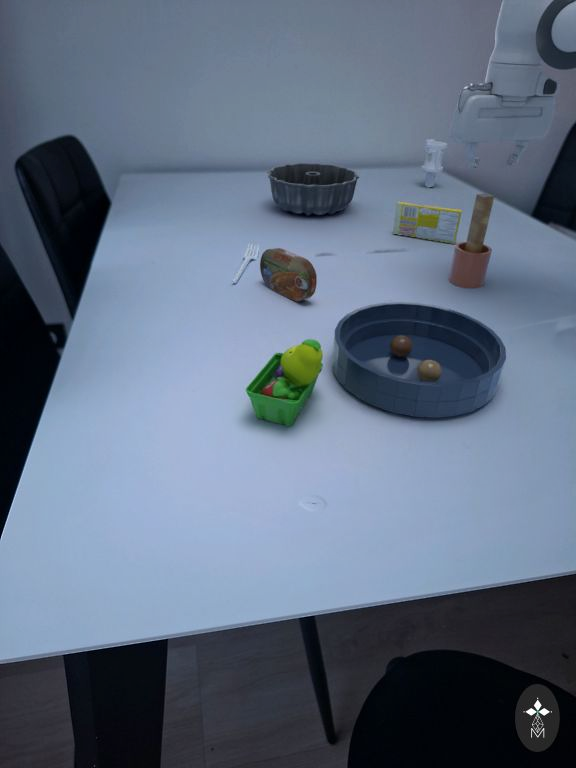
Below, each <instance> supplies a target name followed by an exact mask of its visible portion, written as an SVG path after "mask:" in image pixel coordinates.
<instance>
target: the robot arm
mask: <svg viewBox="0 0 576 768" xmlns="http://www.w3.org/2000/svg"><path fill="white" fill-rule="evenodd" d="M494 34H495V35H494V37H495V41H494V47H493V51H492V52H491V55H490V57H489V61H488V66H487V70H486V74H485V79H484V82H481V83H476V82H471V83H468V84H467V85H466V86H464V87H463V89H462V90H461V91H460V92H459V95H458V100H457V104H456V107H455V109H454V113H453V116H452V120H451V123H450V128H449V131H448V134H449V137H450V139H451V141H454V142H456V143H460V144H464V146H463V148H464V152H465V155H466V162H465V167H466V168H468V169H477V168H479V163H480V160H481V158H480V157H477V155H476V150H477V149H478V148H479V144H480V143H488V142H489V143H491V142H511V141H514V145H515V147H514V148H513V150H512V151H511V153H508V154H507V156H506V160H505V164H506V165H507V166H518V164H519V162H520V159H521V156H522V155H523V153H524V152H525V151H526V149H527V148H528V146H529V143H530V140H543V139H544V138H545V137H547V135H548V133H549V132H550V129H551V126H552V123H553V119H554V116H555V111H556V105H557V101H556V98H555V96H557V95H558V94H559V93H560V90H561V87H562V83H561V82H560V81H559V80H557V79H555V78H554V77H551V76H550V75H548V74H547V73H545V72H542V70H543V66H544V64H546V65H547V66H549V67H551V68H553V69H556V70H561V71H562V70H563V71H566V70H573V69H576V0H502V2H501V6H500V9H499V13H498V17H497V21H496V27H495V31H494Z"/></svg>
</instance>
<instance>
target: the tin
mask: <svg viewBox="0 0 576 768" xmlns="http://www.w3.org/2000/svg"><path fill="white" fill-rule="evenodd" d="M259 270H260V274H261V278H262V281H263V282H264V284H265V286H266V287H268V289H270V290H271V291H274V292H275V293H278V294H280V295H282V296H283V297H285V298H287V299H289V300H291V301H292V302H293V301H294V302H297V303H298V302H302V301H304V300H308V299H310V298H311V297H312V296H313V295H314V294H315V293H316V290H317V283H318V282H317V278H318V277H317V272H316V269H315V267H314V265H313V264H312V263H311V262H310V260H308V259H307V258H306V257H303V256H300V255H299V254H295V253H293V252H291V251H288V250H286V249H283V248H281V247H276V248H268V249H266V250H264V252H262V254H261V257H260V261H259Z"/></svg>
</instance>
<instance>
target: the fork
mask: <svg viewBox="0 0 576 768" xmlns="http://www.w3.org/2000/svg"><path fill="white" fill-rule="evenodd" d="M253 245H254V246H253ZM259 250H260V244H256V243H255V244H253V243H251V244H250V243H248V246H247V248H246V250H245V253H244V255H243V257H242V259H243V261H242V263H241V266H240V267H239V268H238V270H237V272H236V274H235V276H234V277H233V278H232V284H236V283H237V282H238V280H239V279H240V277H241V275H242V274H243V272H244V271H245V269H246V267H247V265H249V263H250V261H251V260H258V257H259V252H260V251H259Z"/></svg>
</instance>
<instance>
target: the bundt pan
mask: <svg viewBox="0 0 576 768" xmlns="http://www.w3.org/2000/svg"><path fill="white" fill-rule="evenodd" d="M267 178H268V179H269V183H270V190H271V195H272V199H273V201H274V203H275V204H276V205H277V206H278V208H279V207H280V208H281V209H282V210H283V211H284V212H287V211H292V212H291V213H293V214H295V215H300V214H305V216H307V217H309V216H310V215H312V214H314V215H316V216H323V215H325V214H326V213H328V214H327V215H333V214H335V213H336V211H337V212H340V211H342V210H344V209H345V208H346V207H347V206H349V205H350V203H351V202H352V201H353V198H354V196H355V190H356V186H357V182H358V180H359V179H360V176H359V175H358V172H357V171H356V170H353V169H350V168H348V167H346V166H340V165H337V164H331V163H320V162H314V163H311V162H296V163H285V164H283V165H278V166H277V165H276V166H274V167H272V168H271V169H269V170H267Z"/></svg>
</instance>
